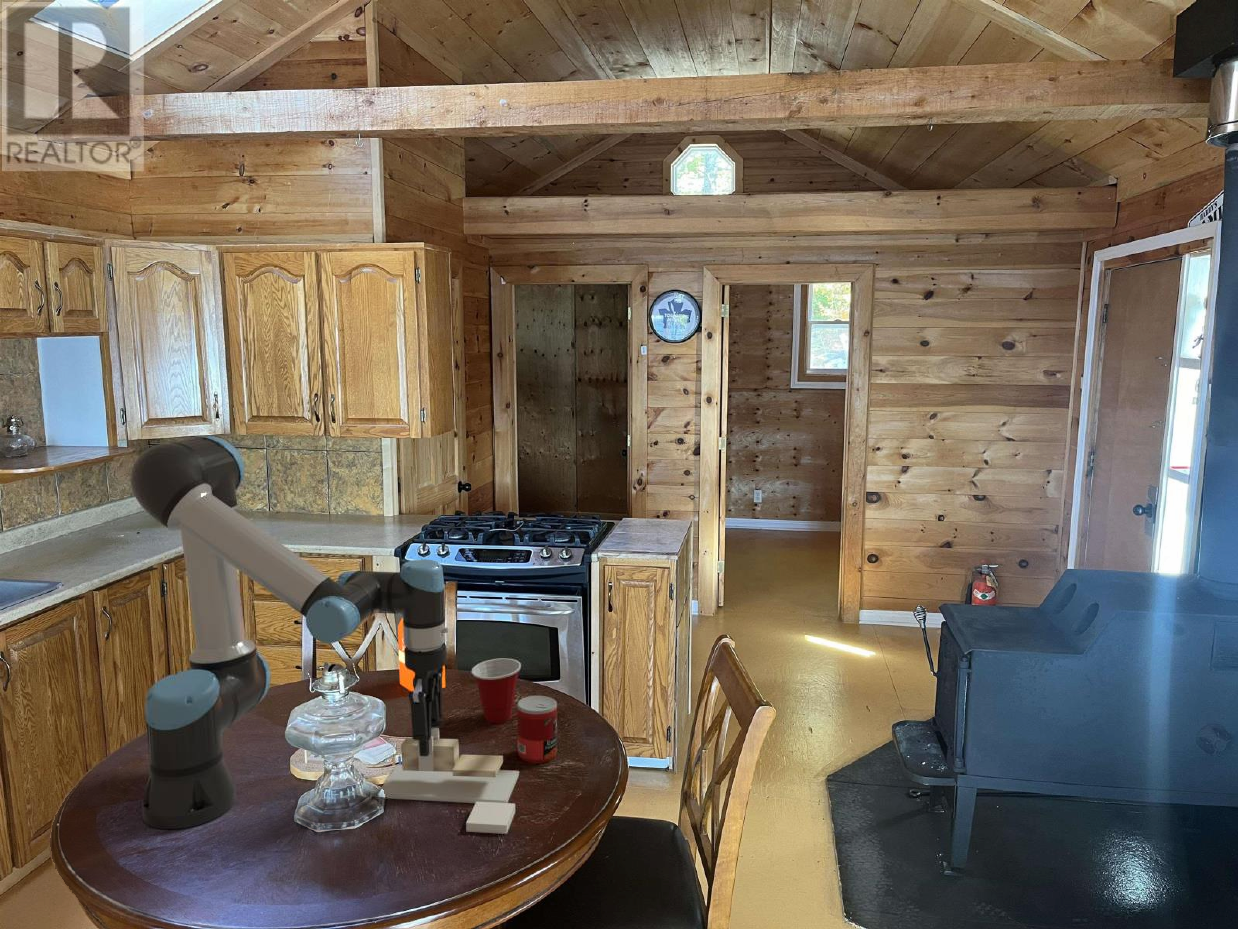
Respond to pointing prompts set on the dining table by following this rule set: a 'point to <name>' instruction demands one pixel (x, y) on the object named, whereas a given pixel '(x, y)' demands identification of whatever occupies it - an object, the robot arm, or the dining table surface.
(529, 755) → the canned food
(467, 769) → the stepped wooden block
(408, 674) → the orange juice
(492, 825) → the tile
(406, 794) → the mat
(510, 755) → the dining table surface
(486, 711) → the plastic cup
